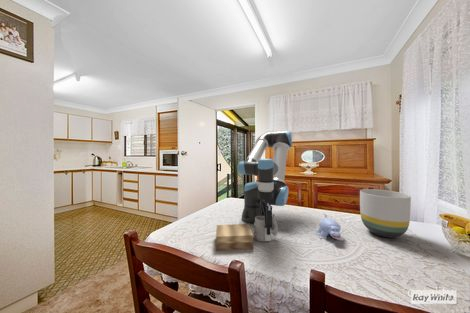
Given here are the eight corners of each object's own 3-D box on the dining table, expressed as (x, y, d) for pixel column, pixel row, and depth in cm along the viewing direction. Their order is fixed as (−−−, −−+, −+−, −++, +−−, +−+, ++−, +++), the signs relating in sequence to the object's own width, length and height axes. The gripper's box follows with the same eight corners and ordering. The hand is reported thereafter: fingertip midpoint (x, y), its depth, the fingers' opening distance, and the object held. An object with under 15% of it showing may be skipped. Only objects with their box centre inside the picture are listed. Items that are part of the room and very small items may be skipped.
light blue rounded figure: (323, 244, 79) (324, 224, 79) (314, 230, 94) (314, 212, 93) (349, 246, 77) (349, 225, 77) (335, 231, 92) (335, 213, 92)
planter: (399, 230, 93) (400, 191, 93) (419, 248, 76) (420, 199, 75) (356, 224, 101) (356, 188, 101) (364, 239, 84) (365, 195, 83)
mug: (253, 233, 89) (253, 210, 89) (277, 235, 88) (277, 211, 88) (253, 241, 82) (253, 216, 82) (279, 242, 80) (279, 217, 80)
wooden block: (248, 235, 87) (248, 223, 87) (253, 248, 75) (253, 235, 75) (216, 237, 86) (216, 225, 86) (216, 250, 74) (216, 236, 74)
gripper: (253, 186, 94) (253, 227, 95) (263, 195, 74) (263, 248, 75) (267, 186, 95) (267, 227, 96) (280, 195, 75) (280, 247, 75)
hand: (265, 236), depth 85 cm, fingers closed on mug, 7 cm apart
